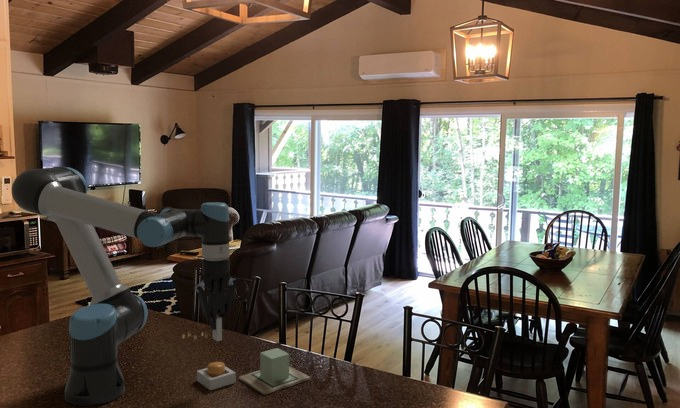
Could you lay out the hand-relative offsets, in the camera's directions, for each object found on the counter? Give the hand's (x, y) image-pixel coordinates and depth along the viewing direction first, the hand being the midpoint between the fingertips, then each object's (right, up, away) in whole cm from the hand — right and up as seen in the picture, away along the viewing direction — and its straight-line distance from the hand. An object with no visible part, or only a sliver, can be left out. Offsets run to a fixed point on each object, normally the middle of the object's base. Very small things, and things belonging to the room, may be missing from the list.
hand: (217, 339), depth 163 cm
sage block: (+16, -12, +4) cm, 20 cm away
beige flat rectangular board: (+16, -13, +4) cm, 21 cm away
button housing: (-1, -13, +2) cm, 13 cm away
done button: (-1, -11, +1) cm, 11 cm away
